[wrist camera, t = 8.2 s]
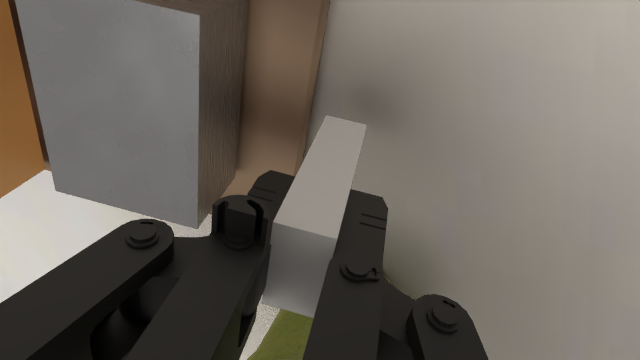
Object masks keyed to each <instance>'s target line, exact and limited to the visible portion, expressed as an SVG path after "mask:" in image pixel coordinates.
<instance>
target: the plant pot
mask: <svg viewBox="0 0 640 360" xmlns="http://www.w3.org/2000/svg"><path fill="white" fill-rule="evenodd" d="M384 275H385V274H384ZM385 277H386V276H385ZM386 278H387V277H386ZM387 280H388V281H389V279H388V278H387ZM389 283H390V281H389ZM390 284H391V283H390ZM313 319H314V318H312V317H309V316H305V315H301V314H298V313H294V312H291V311H287V310H284V309H281V310H280V311H279V313H278V315H277V317H276V318H275V320H274V322H273V323H272V325H271V327H270V329H269V330H268V332H267V334H266V335H265V337H264V339H263V341H262V342H261V344H260V346H259V347H258V349H257V351H256V352H254V353H253V354H252V355H251V356H250V357H249V358H248V359H247V360H302V359H303V355H304V352H305V348H306V344H307V341H308V337H309V333H310V330H311V326H312V322H313Z"/></svg>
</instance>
